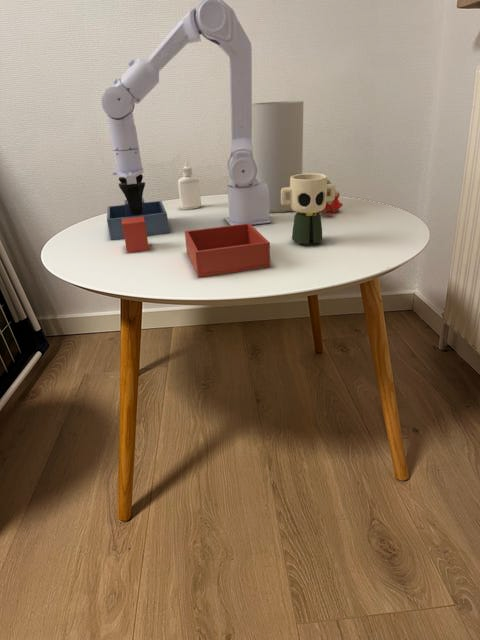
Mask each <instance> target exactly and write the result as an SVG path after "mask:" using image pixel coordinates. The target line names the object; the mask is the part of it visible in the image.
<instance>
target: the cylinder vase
mask: <svg viewBox="0 0 480 640" xmlns="http://www.w3.org/2000/svg"><path fill="white" fill-rule="evenodd" d="M252 146H253V159H254V161H255V163H256V166H257V176H256V178H255V179H257V180H258V182H265V183H266V184H267V186H268V190H269V206H270V213H287V212H292V211H293V210H292V209H291V207H290V205H282V204H281V189H282V188H287V187H290V177H291V176H293V175H297V174H303V156H304V155H303V153H304V152H303V150H304V149H303V148H304V147H303V146H304V100H288V101H287V100H286V101H269V102H256V103H252ZM286 200H290V192H288V193H286Z"/></svg>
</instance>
